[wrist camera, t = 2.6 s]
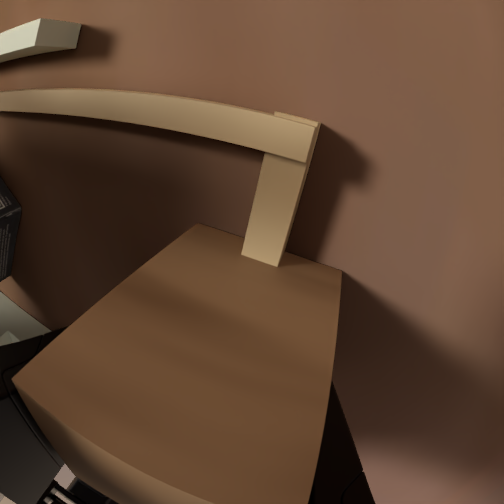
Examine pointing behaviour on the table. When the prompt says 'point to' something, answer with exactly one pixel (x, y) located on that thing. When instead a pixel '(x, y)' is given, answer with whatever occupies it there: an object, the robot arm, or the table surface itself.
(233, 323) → the wooden block with bar
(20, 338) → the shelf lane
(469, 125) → the table surface
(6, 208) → the small box
